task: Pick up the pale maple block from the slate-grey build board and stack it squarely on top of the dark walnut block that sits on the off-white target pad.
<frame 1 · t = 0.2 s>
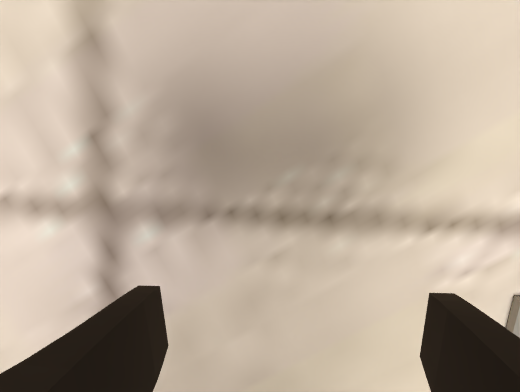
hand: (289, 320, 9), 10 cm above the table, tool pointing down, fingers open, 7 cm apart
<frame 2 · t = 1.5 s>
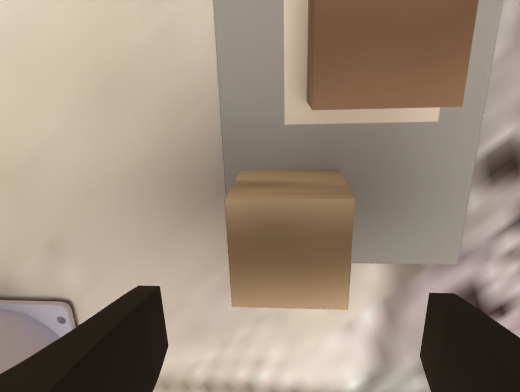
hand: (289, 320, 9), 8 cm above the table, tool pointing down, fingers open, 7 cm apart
build board: (345, 116, 15), on the table
walnut block: (364, 41, 14), point 1 cm above the table, touching build board
maple block: (289, 215, 17), point 1 cm above the table, touching build board
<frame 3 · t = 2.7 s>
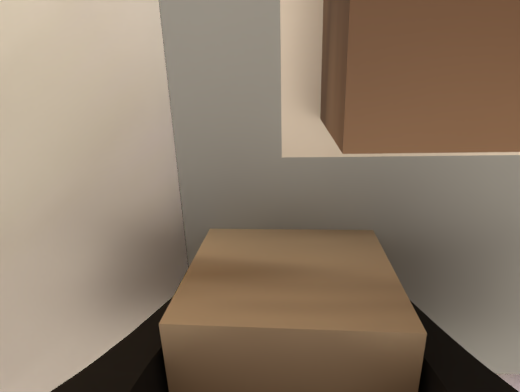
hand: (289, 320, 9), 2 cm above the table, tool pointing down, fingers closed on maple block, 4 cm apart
build board: (384, 143, 9), on the table
walnut block: (428, 11, 8), point 1 cm above the table, touching build board
maple block: (289, 298, 10), point 1 cm above the table, touching build board, gripper
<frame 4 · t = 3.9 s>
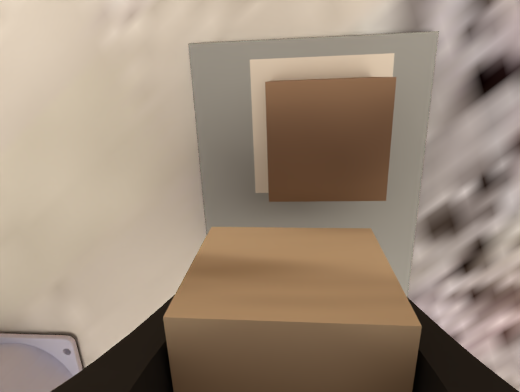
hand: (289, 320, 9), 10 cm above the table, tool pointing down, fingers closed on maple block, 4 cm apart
build board: (307, 184, 18), on the table
walnut block: (319, 128, 17), point 1 cm above the table, touching build board
maple block: (289, 295, 11), point 9 cm above the table, touching gripper
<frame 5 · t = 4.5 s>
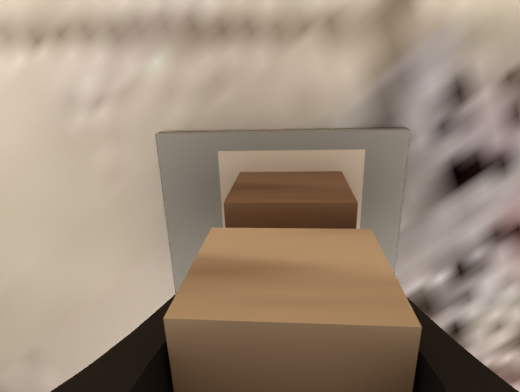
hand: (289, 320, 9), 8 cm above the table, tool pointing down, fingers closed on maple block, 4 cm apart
build board: (280, 267, 18), on the table
walnut block: (290, 218, 16), point 1 cm above the table, touching build board
maple block: (289, 295, 11), point 7 cm above the table, touching gripper
when the fingers open (7 cm above the table, at t = 5.1 s): maple block stays where it is, resting on walnut block.
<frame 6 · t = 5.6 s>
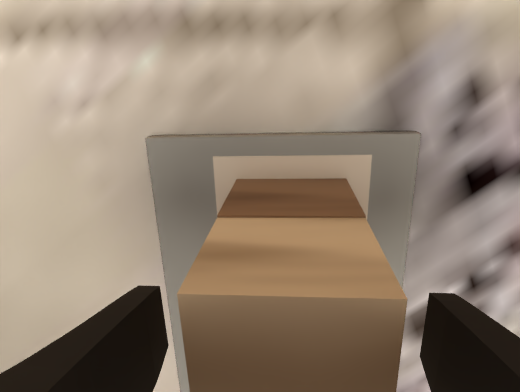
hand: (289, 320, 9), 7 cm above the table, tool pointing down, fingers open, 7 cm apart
build board: (280, 279, 17), on the table
walnut block: (290, 228, 15), point 1 cm above the table, touching build board, maple block
maple block: (290, 281, 11), point 5 cm above the table, touching walnut block
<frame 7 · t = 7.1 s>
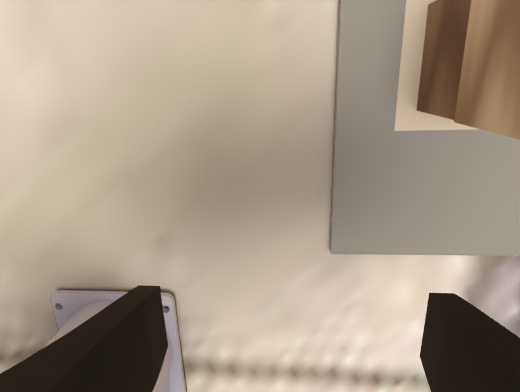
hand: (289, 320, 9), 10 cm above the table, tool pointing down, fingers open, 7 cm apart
build board: (446, 123, 17), on the table
walnut block: (473, 58, 16), point 1 cm above the table, touching build board, maple block
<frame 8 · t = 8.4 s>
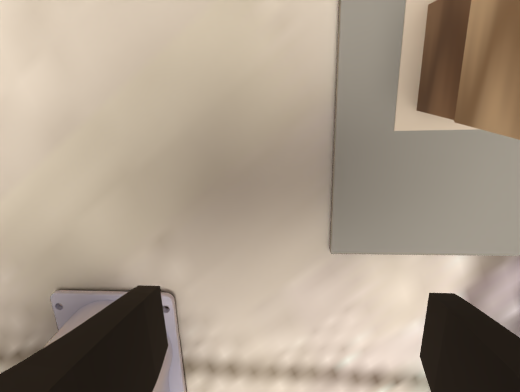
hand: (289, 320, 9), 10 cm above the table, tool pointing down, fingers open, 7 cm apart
build board: (446, 123, 17), on the table
walnut block: (473, 58, 16), point 1 cm above the table, touching build board, maple block
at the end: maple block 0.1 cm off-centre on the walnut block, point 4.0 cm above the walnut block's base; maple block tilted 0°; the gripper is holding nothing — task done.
